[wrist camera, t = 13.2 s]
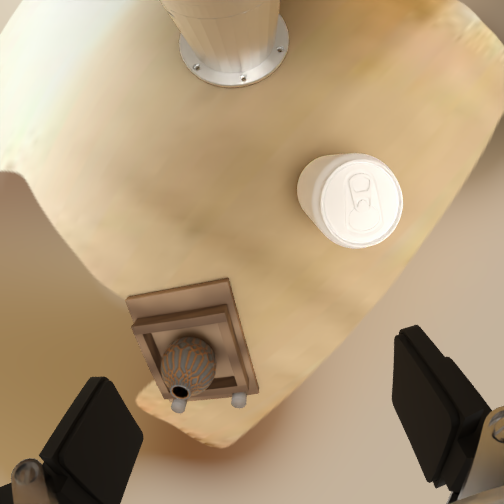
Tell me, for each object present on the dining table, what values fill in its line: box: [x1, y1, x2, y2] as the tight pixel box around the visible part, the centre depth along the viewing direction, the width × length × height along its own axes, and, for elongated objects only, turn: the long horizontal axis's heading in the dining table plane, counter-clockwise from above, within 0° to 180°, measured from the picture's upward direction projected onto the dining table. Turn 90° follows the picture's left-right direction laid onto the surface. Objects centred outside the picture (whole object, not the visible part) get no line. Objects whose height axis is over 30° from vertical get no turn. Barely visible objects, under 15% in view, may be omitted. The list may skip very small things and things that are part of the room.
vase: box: [161, 337, 217, 400], centre depth 36 cm, size 7×7×9 cm
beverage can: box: [297, 153, 403, 248], centre depth 29 cm, size 8×8×12 cm
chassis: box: [125, 278, 259, 413], centre depth 39 cm, size 18×14×4 cm
